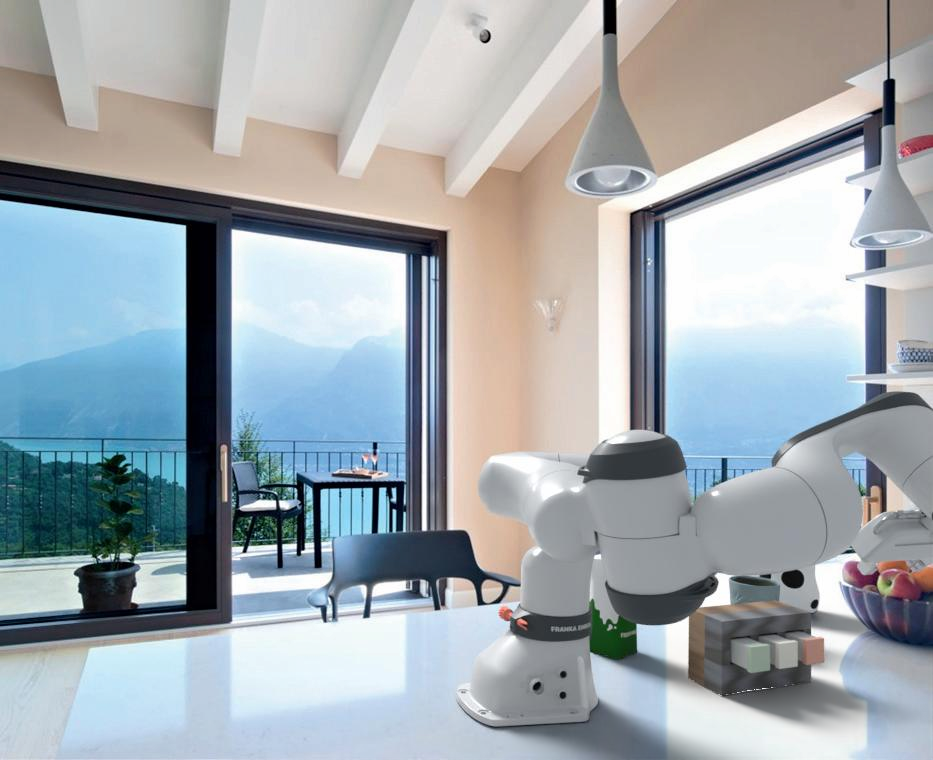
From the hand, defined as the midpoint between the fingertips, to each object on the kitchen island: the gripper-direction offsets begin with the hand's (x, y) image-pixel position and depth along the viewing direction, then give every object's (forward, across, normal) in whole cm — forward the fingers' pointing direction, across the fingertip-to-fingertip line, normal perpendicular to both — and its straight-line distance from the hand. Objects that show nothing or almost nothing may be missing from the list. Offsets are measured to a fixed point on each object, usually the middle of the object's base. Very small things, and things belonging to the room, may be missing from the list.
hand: (888, 569), depth 100 cm
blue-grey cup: (+46, +10, +13) cm, 49 cm away
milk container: (+58, +31, +24) cm, 70 cm away
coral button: (+25, 0, -1) cm, 25 cm away
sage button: (+24, -12, -2) cm, 27 cm away
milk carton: (+45, -24, +13) cm, 52 cm away
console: (+32, -7, 0) cm, 33 cm away
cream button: (+25, -6, -1) cm, 25 cm away
